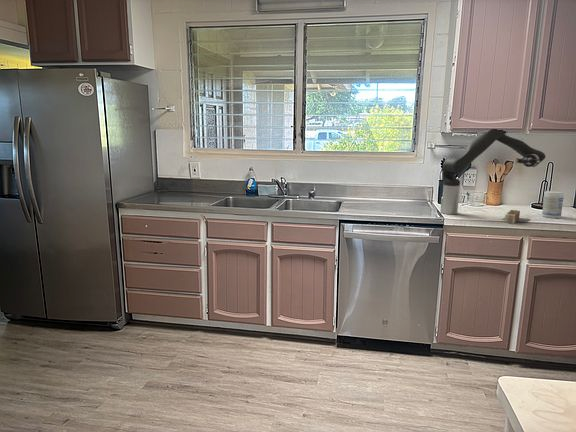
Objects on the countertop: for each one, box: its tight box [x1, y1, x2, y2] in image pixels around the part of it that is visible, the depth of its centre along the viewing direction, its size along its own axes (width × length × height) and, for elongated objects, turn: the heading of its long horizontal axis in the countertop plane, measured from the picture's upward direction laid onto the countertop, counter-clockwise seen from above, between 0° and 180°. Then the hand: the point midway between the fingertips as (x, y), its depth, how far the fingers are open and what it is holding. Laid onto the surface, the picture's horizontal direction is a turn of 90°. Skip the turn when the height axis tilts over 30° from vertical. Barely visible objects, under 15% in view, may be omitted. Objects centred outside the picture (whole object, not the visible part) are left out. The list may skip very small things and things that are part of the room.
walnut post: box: [504, 209, 521, 225], centre depth 232 cm, size 4×4×13 cm
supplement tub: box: [541, 190, 565, 219], centre depth 242 cm, size 10×10×15 cm
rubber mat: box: [501, 217, 531, 223], centre depth 236 cm, size 12×11×1 cm
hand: (524, 161), depth 238 cm, fingers closed
